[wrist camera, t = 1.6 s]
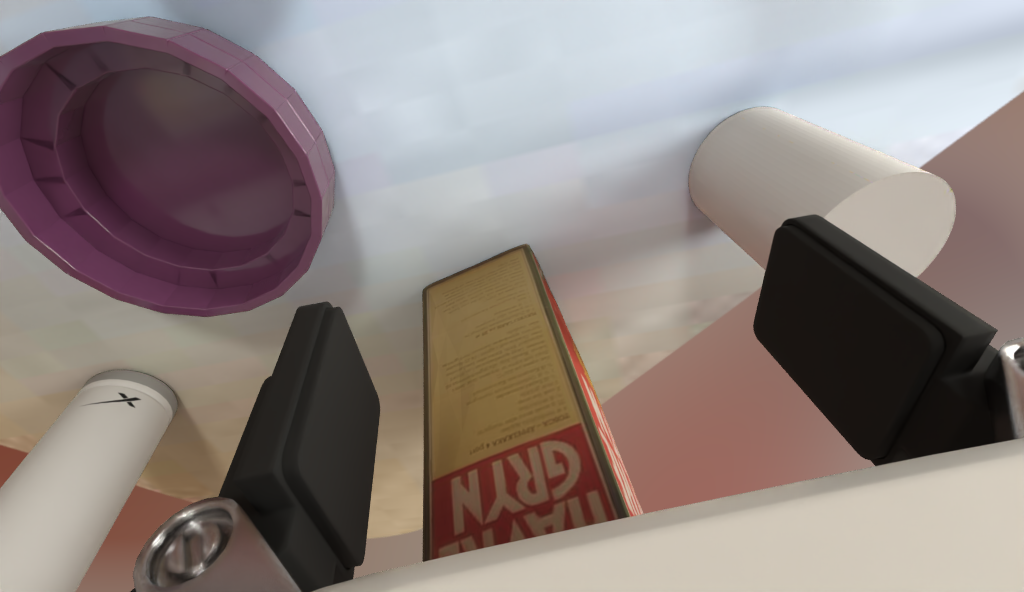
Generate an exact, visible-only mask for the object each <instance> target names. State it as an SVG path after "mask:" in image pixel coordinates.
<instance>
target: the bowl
mask: <svg viewBox="0 0 1024 592" xmlns="http://www.w3.org/2000/svg"><path fill="white" fill-rule="evenodd" d="M334 170H335V169H334V165H333V162H332V159H331V156H330V153H329V150H328V146H327V143H326V140H325V137H324V134H323V131H322V129H321V128H320V126H319V125H318V123H317V122H316V120H315V119H314V117H313V116H312V114H311V113H310V111H309V110H308V108H307V107H306V105H305V104H304V102H303V101H302V99H301V98H300V96H299V95H298V93H297V92H296V91H295V89H294V88H293V87H291V86H290V85H289V84H288V83H287V82H286V81H285V80H284V79H283V78H281V77H280V76H279V75H278V74H277V73H276V72H275V71H274V70H272V69H271V68H270V67H269V66H268V65H267V64H266V63H265V62H263V61H262V60H261V59H260V58H259V57H258V56H257V55H255V54H253V53H252V52H250V51H248V50H246V49H244V48H242V47H240V46H238V45H236V44H234V43H232V42H230V41H229V40H227V39H225V38H223V37H221V36H219V35H217V34H215V33H213V32H211V31H209V30H208V29H204V28H202V27H197V26H193V25H188V24H183V23H179V22H174V21H170V20H165V19H160V18H156V17H149V16H148V17H139V18H130V19H121V20H111V21H102V22H96V23H91V24H85V25H80V26H74V27H68V28H63V29H57V30H52V31H46V32H43V33H40V34H38V35H37V36H35V37H33V38H31V39H30V40H28V41H26V42H24V43H23V44H21V45H19V46H17V47H16V48H14V49H12V50H10V51H9V52H7V53H5V54H3V55H2V56H0V209H1V210H2V211H3V212H4V214H5V215H6V216H7V218H8V219H9V220H10V221H11V223H12V224H13V225H14V227H15V228H16V229H17V230H18V232H19V233H20V234H21V236H22V237H23V238H24V239H25V240H26V241H27V242H28V243H29V244H30V245H32V246H33V247H34V248H35V249H37V250H38V251H39V252H40V253H42V254H43V255H44V256H45V257H46V258H48V259H49V260H50V261H51V262H53V263H54V264H55V265H56V266H58V267H59V268H60V269H61V270H62V271H64V272H65V273H66V274H68V275H70V276H72V277H74V278H76V279H78V280H79V281H81V282H83V283H85V284H87V285H89V286H91V287H93V288H95V289H97V290H99V291H101V292H102V293H104V294H106V295H108V296H110V297H112V298H115V299H117V300H120V301H123V302H127V303H130V304H134V305H137V306H140V307H144V308H147V309H150V310H154V311H157V312H160V313H162V312H163V313H166V314H178V315H190V316H202V317H211V316H218V315H224V314H231V313H238V312H244V311H250V310H252V309H254V308H256V307H258V306H261V305H263V304H265V303H267V302H269V301H271V300H274V299H276V298H278V297H280V296H282V295H283V294H285V293H286V292H287V291H288V290H289V289H290V288H291V287H292V286H293V285H294V284H295V283H296V282H297V281H298V280H299V279H300V278H301V277H302V276H303V275H304V274H305V273H306V272H307V271H308V269H309V267H310V265H311V262H312V260H313V258H314V255H315V253H316V251H317V248H318V246H319V244H320V241H321V239H322V236H323V234H324V231H325V229H326V226H327V223H328V221H329V218H330V216H331V213H332V210H333V208H334V188H335V171H334Z"/></svg>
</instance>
